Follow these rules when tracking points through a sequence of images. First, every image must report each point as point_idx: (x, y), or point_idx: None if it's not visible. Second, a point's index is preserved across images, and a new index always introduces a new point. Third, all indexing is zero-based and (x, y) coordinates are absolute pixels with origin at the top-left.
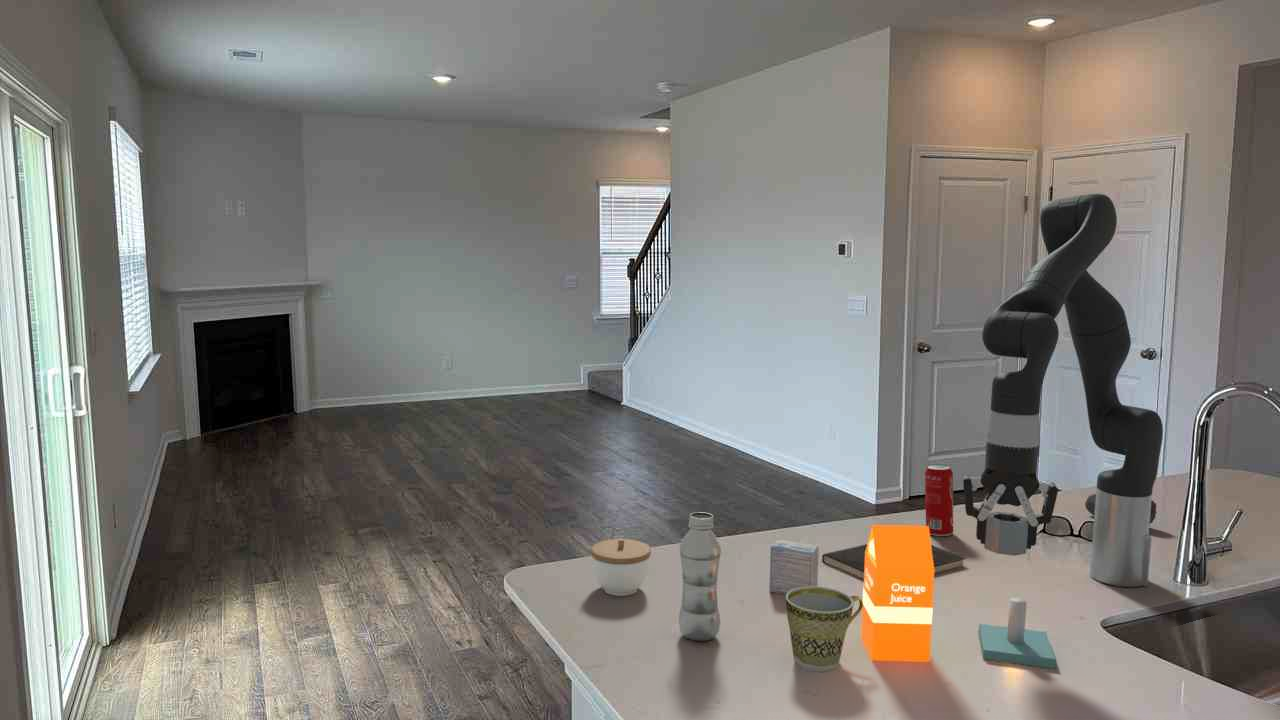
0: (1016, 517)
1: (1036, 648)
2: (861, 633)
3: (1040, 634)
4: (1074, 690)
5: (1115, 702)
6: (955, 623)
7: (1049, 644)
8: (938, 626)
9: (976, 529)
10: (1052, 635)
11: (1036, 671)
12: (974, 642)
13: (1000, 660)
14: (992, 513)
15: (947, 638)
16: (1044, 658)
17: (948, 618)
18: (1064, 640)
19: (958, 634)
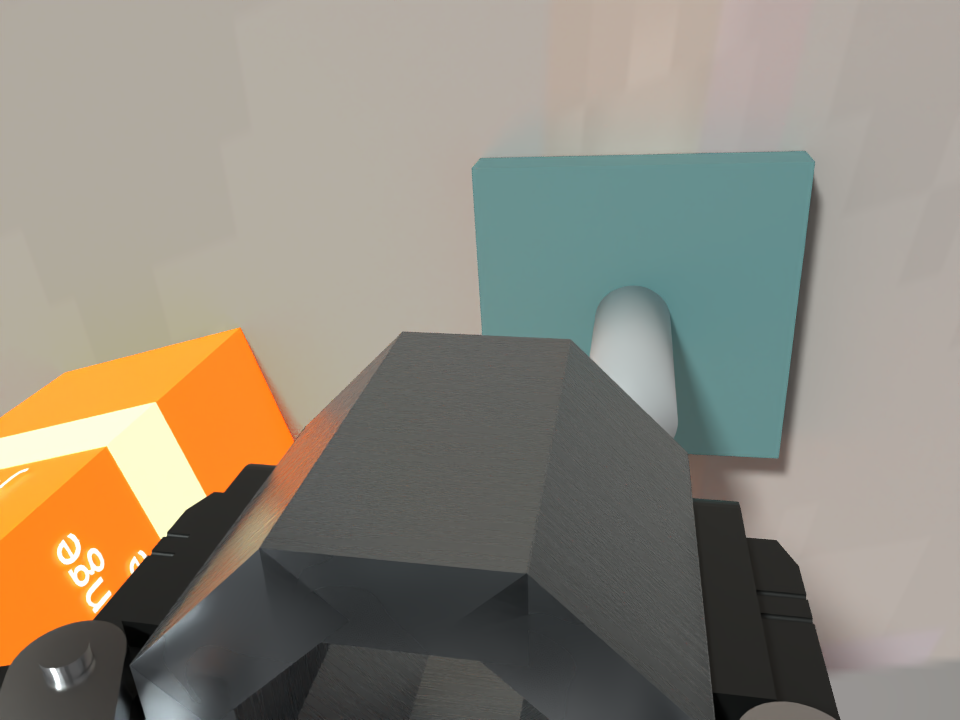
0: (554, 707)
1: (717, 377)
2: (50, 383)
3: (775, 208)
4: (803, 576)
5: (930, 625)
6: (371, 77)
7: (792, 319)
8: (301, 148)
9: (160, 551)
10: (871, 54)
11: (691, 471)
12: (463, 277)
13: None
14: (206, 651)
15: (353, 271)
16: (733, 455)
17: (332, 19)
18: (922, 105)
19: (393, 212)
